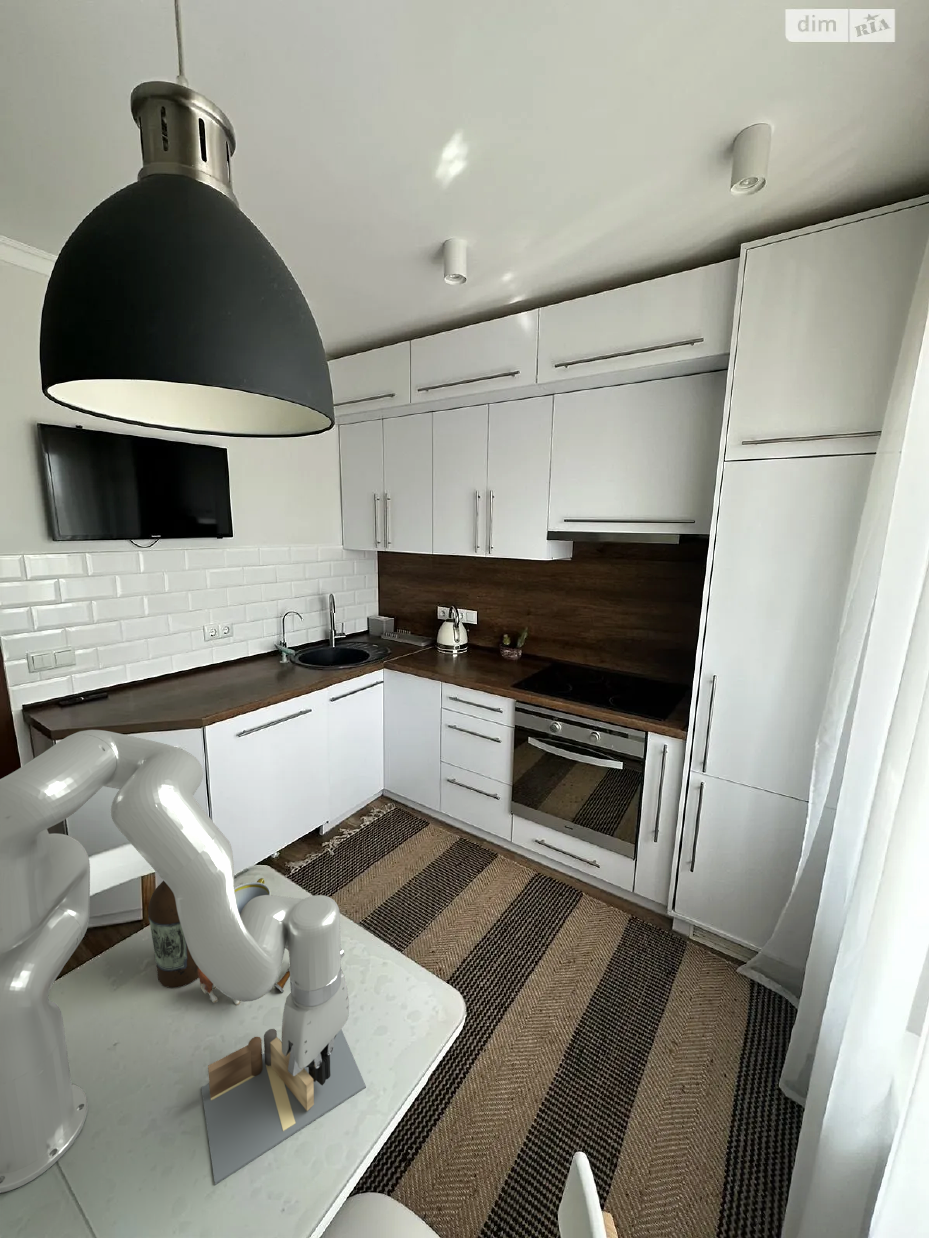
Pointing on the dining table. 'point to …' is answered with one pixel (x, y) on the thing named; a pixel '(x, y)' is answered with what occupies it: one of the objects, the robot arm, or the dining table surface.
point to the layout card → (271, 1110)
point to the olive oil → (169, 940)
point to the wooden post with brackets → (283, 980)
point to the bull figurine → (209, 987)
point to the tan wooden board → (279, 1062)
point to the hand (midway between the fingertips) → (319, 1075)
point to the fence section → (236, 1067)
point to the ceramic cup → (250, 892)
